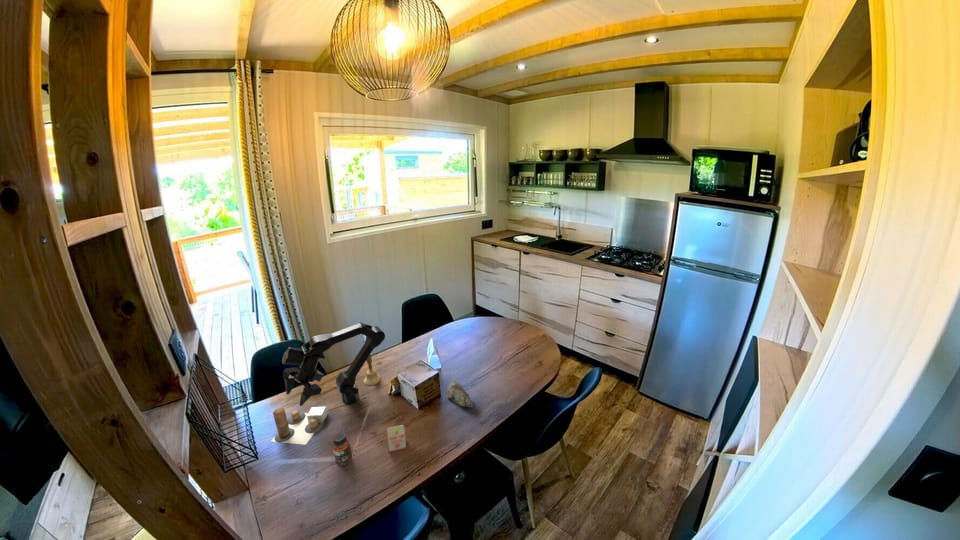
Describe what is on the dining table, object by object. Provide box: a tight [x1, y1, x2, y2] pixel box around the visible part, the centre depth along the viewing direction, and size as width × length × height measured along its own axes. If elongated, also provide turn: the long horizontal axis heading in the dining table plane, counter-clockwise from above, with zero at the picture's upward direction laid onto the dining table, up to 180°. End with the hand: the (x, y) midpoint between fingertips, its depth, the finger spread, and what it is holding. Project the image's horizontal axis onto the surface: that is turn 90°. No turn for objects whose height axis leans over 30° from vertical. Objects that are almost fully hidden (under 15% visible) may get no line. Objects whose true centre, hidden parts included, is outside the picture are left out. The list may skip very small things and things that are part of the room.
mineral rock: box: [446, 380, 473, 408], centre depth 152 cm, size 13×11×10 cm
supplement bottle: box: [331, 432, 353, 467], centre depth 123 cm, size 6×6×11 cm
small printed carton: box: [385, 424, 407, 453], centre depth 129 cm, size 4×7×10 cm, turn 105°
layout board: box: [270, 409, 328, 446], centre depth 138 cm, size 18×16×4 cm
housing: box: [307, 406, 328, 423], centre depth 143 cm, size 6×5×4 cm
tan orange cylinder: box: [272, 407, 290, 439], centre depth 133 cm, size 4×4×12 cm
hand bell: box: [363, 354, 381, 386], centre depth 167 cm, size 8×8×16 cm
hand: (294, 399), depth 138 cm, fingers open, 9 cm apart
